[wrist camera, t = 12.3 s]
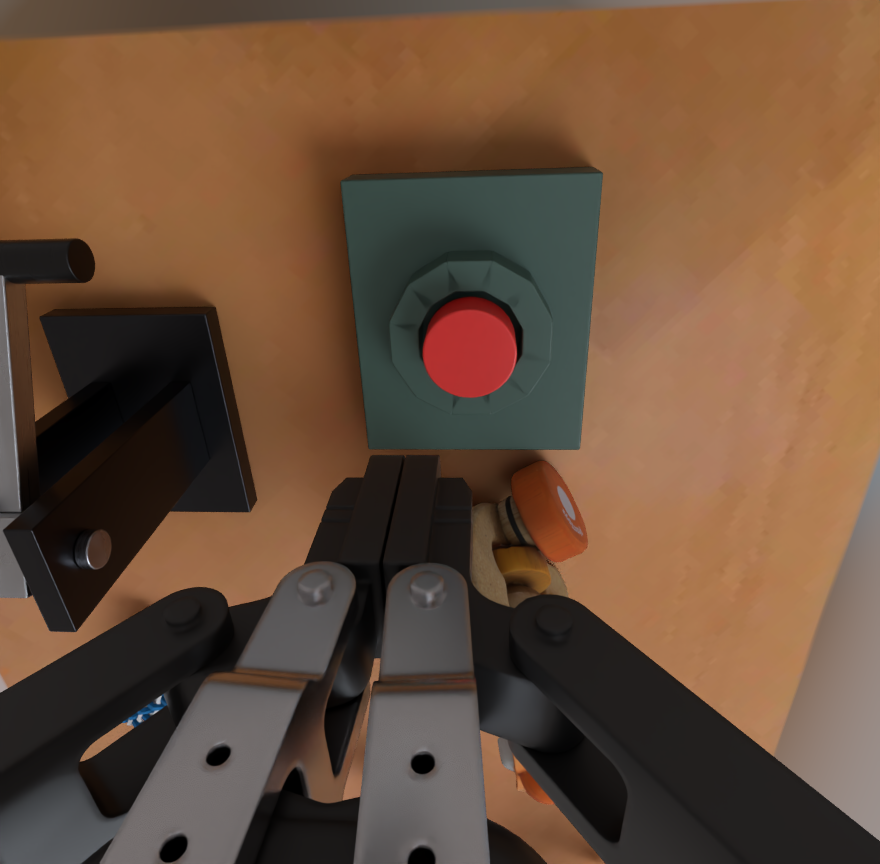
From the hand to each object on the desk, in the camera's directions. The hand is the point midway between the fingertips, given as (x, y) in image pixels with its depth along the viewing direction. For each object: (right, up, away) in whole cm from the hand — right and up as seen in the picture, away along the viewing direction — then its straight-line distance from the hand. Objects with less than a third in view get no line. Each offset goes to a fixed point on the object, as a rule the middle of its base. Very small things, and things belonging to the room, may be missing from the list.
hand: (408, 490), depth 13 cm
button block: (+2, +7, +14) cm, 16 cm away
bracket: (-14, +2, +18) cm, 23 cm away
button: (+2, +5, +11) cm, 12 cm away
